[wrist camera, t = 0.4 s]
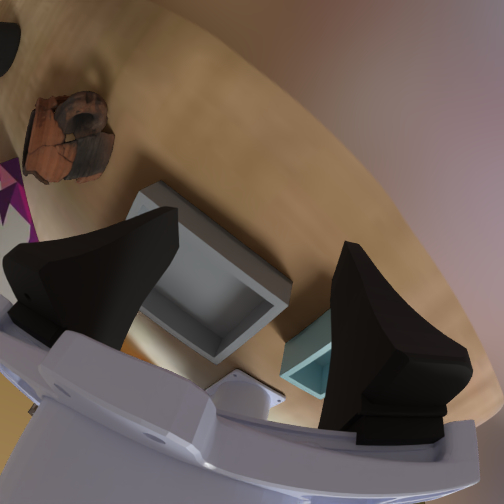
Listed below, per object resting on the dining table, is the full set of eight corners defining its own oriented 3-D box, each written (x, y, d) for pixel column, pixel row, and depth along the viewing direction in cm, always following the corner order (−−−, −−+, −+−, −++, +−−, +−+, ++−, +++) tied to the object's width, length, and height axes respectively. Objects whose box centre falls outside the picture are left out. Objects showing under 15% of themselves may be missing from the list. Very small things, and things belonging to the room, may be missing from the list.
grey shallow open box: (226, 342, 30) (216, 365, 27) (120, 262, 28) (101, 278, 25) (292, 281, 25) (288, 305, 21) (161, 180, 23) (139, 190, 20)
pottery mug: (87, 200, 26) (18, 201, 20) (86, 129, 27) (25, 123, 20) (141, 141, 19) (40, 129, 12) (136, 62, 20) (59, 42, 13)
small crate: (322, 367, 29) (320, 399, 25) (285, 343, 28) (279, 376, 24) (374, 331, 25) (380, 364, 21) (338, 301, 24) (340, 335, 21)
